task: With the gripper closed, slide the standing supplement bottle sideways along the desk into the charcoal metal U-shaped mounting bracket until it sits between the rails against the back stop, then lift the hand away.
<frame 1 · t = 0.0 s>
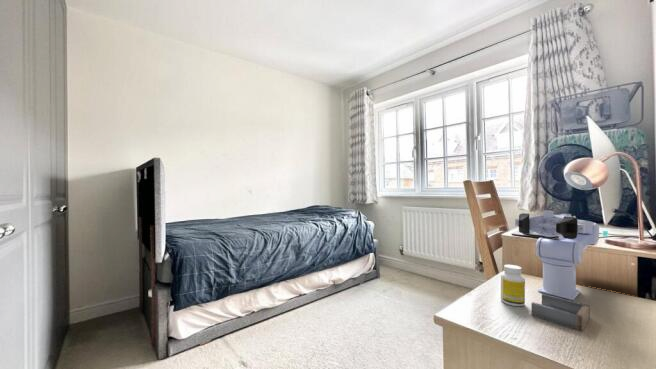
hand: (538, 225, 67), 22 cm above the table, tool horizontal, fingers open, 7 cm apart
supplement bottle: (512, 303, 73), on the table
mounting bracket: (560, 316, 65), on the table
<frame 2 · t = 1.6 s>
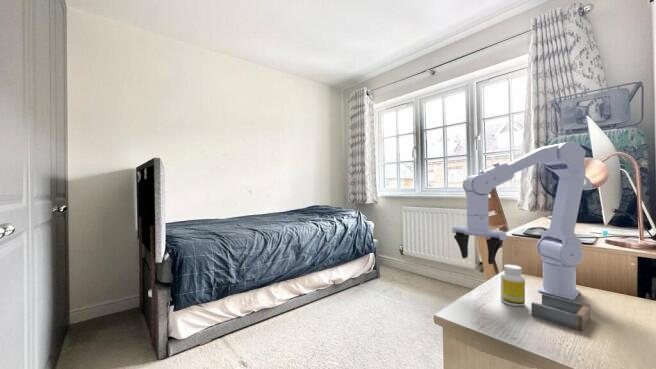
hand: (477, 260, 80), 9 cm above the table, tool pointing down, fingers open, 7 cm apart
nothing on the table moved.
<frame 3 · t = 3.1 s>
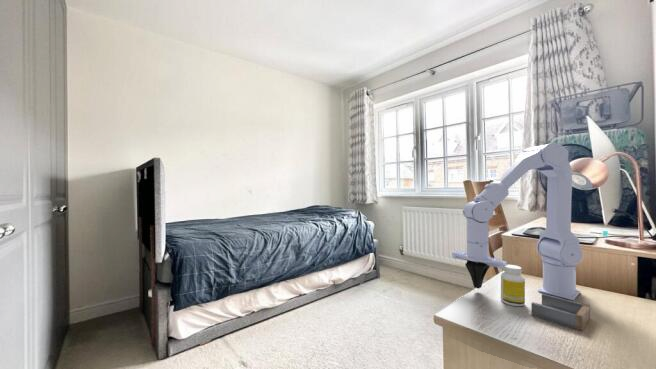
hand: (477, 287, 80), 1 cm above the table, tool pointing down, fingers closed
nothing on the table moved.
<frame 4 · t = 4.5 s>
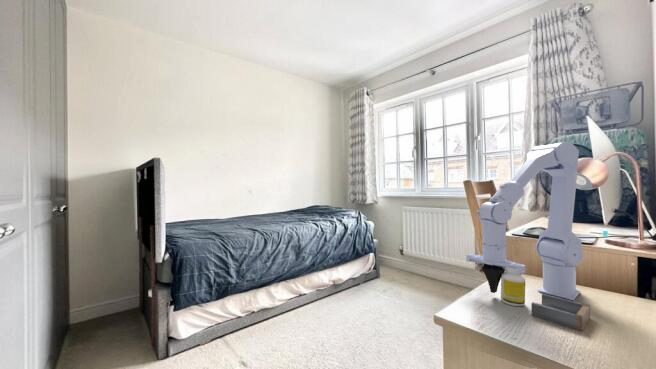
hand: (493, 291, 76), 1 cm above the table, tool pointing down, fingers closed
supplement bottle: (512, 303, 73), on the table, touching gripper
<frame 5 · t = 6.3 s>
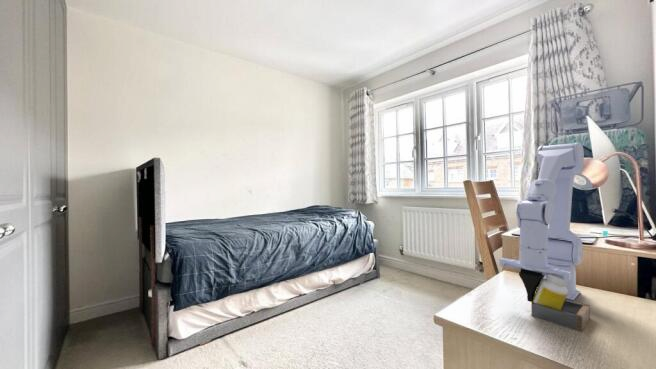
hand: (531, 300, 68), 2 cm above the table, tool pointing down, fingers closed, pressing on supplement bottle
supplement bottle: (543, 311, 67), on the table, touching gripper
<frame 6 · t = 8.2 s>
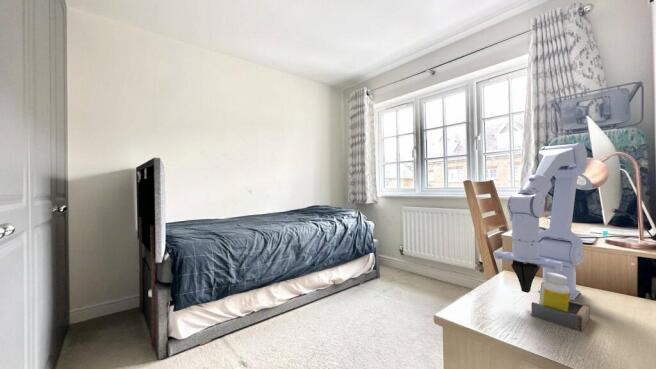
hand: (525, 291, 70), 4 cm above the table, tool pointing down, fingers closed
supplement bottle: (552, 315, 65), on the table
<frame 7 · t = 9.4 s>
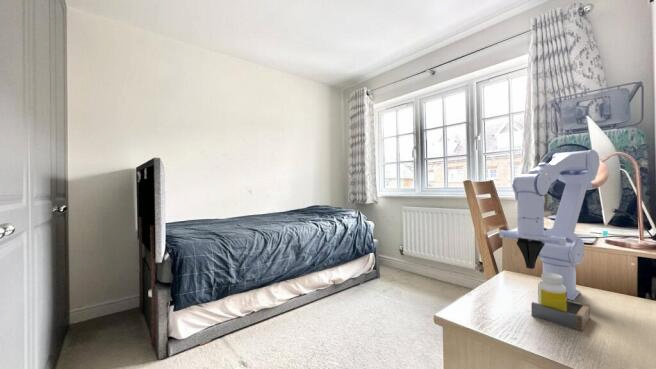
hand: (530, 267, 73), 9 cm above the table, tool pointing down, fingers closed
nothing on the table moved.
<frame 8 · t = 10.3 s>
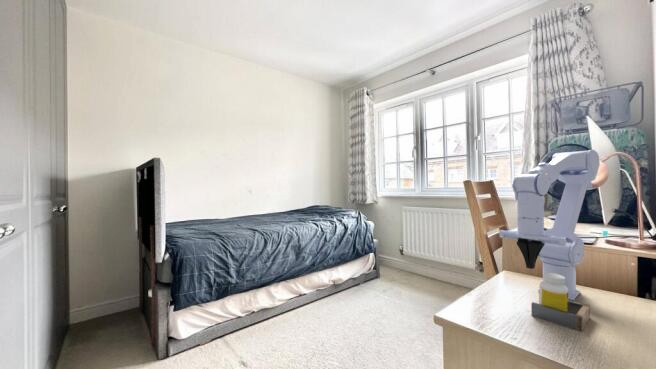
hand: (530, 267, 73), 9 cm above the table, tool pointing down, fingers closed
nothing on the table moved.
at the end: supplement bottle 1.0 cm off-centre on the mounting bracket, point 0.0 cm above the mounting bracket's base; supplement bottle tilted 2°; supplement bottle moved 8.7 cm from its start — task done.
